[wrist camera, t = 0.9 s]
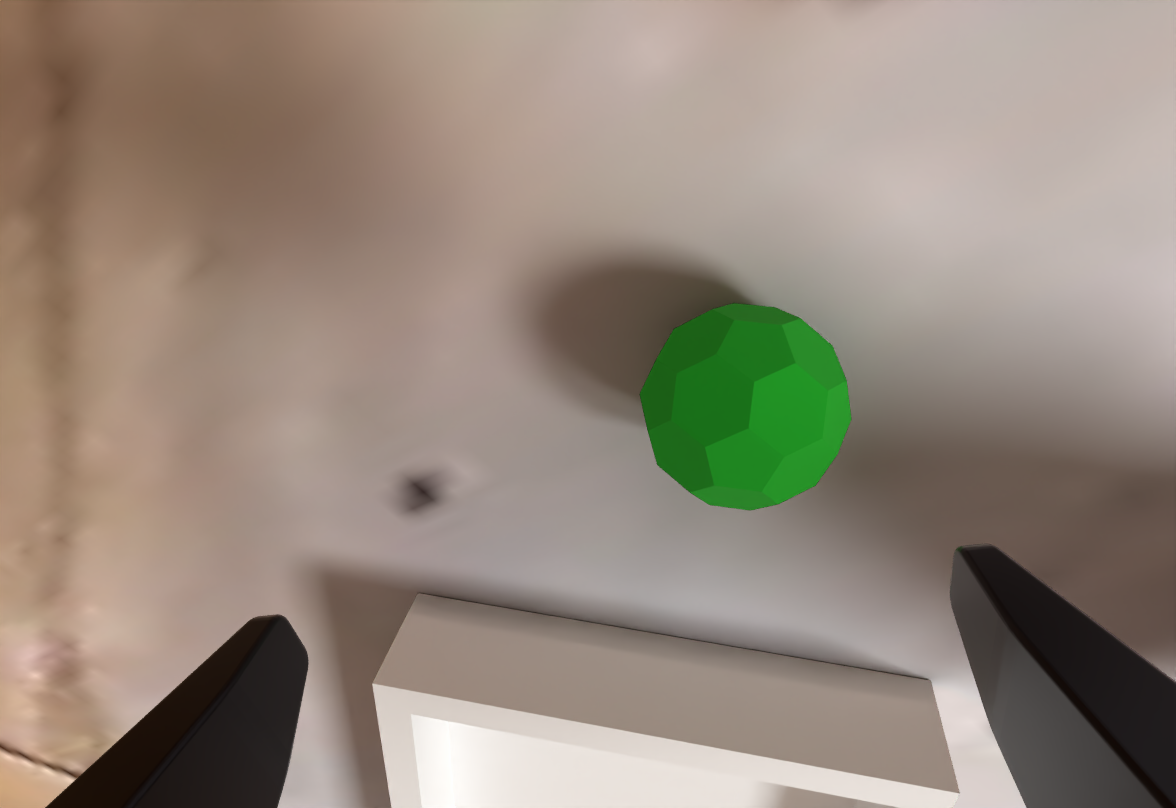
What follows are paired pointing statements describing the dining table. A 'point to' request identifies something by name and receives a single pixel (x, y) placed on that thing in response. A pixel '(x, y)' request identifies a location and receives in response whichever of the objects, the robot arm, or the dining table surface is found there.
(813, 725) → the white tray
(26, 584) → the dining table surface
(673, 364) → the polyhedron
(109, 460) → the dining table surface
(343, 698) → the dining table surface
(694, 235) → the dining table surface
